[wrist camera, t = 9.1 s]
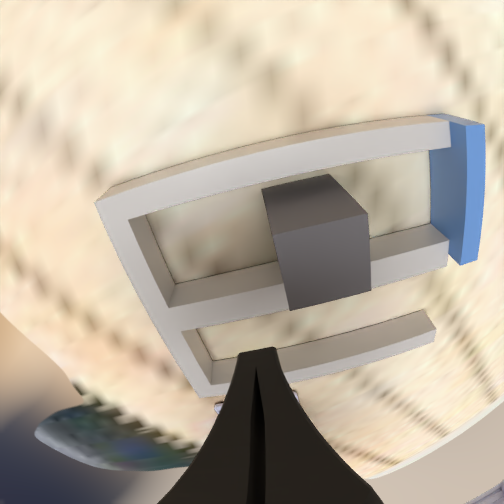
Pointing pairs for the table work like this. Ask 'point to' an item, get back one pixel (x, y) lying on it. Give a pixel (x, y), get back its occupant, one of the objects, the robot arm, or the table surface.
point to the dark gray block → (319, 240)
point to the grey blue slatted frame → (269, 275)
